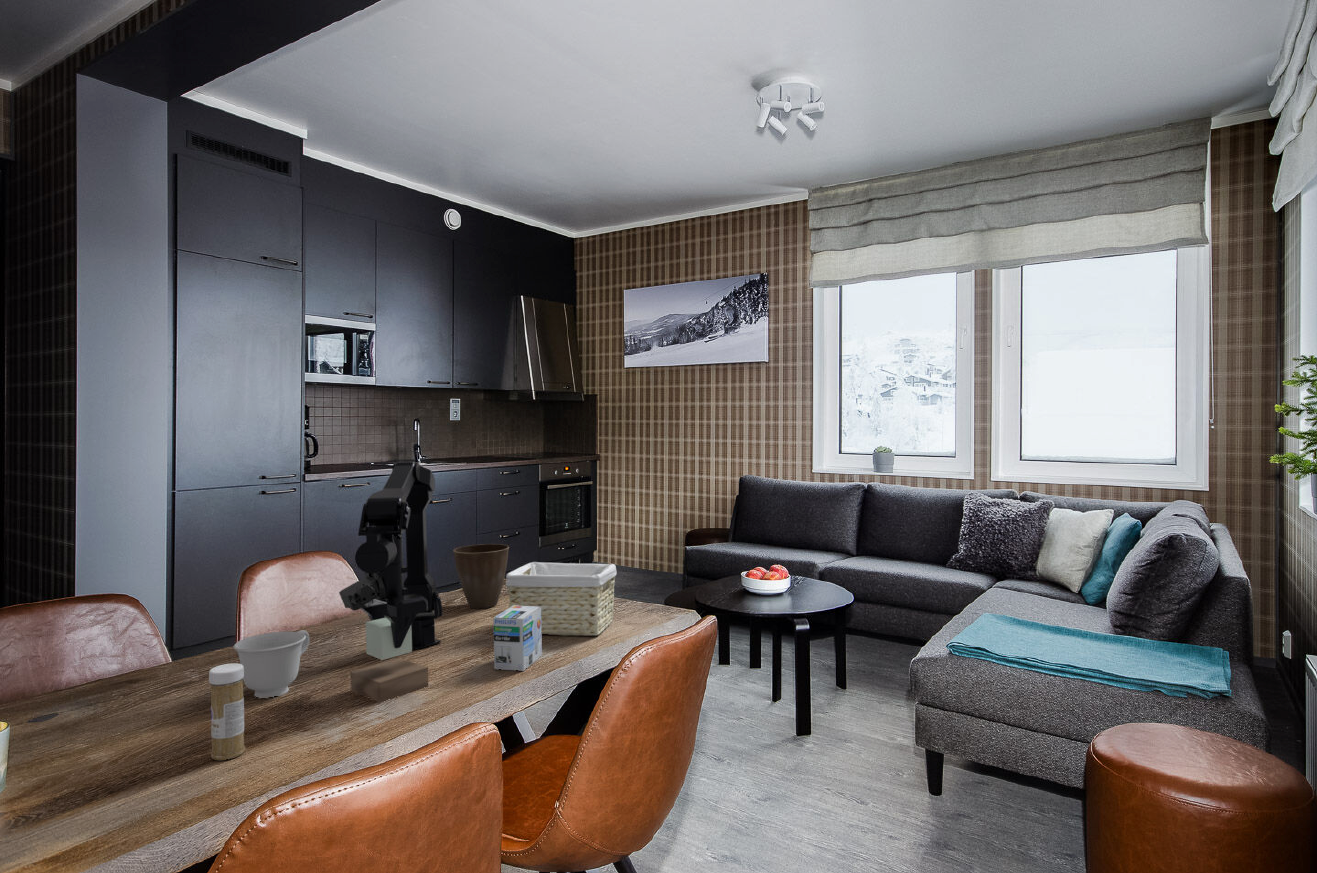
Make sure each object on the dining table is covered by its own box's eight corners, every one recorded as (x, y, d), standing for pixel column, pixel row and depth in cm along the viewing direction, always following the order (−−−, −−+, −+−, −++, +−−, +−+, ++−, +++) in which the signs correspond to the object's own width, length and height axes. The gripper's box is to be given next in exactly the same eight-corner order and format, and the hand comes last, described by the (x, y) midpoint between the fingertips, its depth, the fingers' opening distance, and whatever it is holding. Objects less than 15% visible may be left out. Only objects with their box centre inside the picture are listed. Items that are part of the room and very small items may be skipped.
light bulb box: (524, 672, 146) (523, 618, 146) (492, 670, 147) (491, 617, 147) (543, 655, 157) (542, 605, 156) (513, 653, 158) (512, 604, 158)
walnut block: (350, 693, 137) (350, 672, 137) (398, 677, 145) (397, 658, 145) (380, 705, 131) (380, 682, 131) (428, 688, 139) (427, 667, 139)
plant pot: (445, 611, 195) (443, 552, 195) (468, 598, 210) (467, 543, 209) (497, 613, 192) (496, 553, 192) (517, 599, 207) (516, 543, 207)
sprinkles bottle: (206, 756, 110) (204, 668, 110) (239, 745, 114) (236, 660, 114) (217, 764, 107) (215, 674, 107) (250, 753, 111) (248, 666, 111)
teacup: (332, 680, 143) (331, 629, 143) (269, 708, 129) (268, 652, 129) (285, 674, 147) (284, 625, 147) (219, 701, 133) (217, 647, 133)
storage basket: (504, 635, 172) (502, 573, 172) (530, 617, 188) (529, 560, 188) (600, 640, 167) (599, 576, 167) (619, 621, 183) (618, 562, 183)
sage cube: (366, 653, 138) (365, 622, 137) (395, 646, 142) (395, 615, 142) (382, 660, 134) (381, 627, 133) (411, 652, 138) (411, 620, 138)
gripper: (322, 563, 138) (324, 645, 138) (370, 576, 125) (372, 666, 126) (378, 555, 146) (380, 632, 146) (428, 566, 134) (430, 650, 134)
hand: (389, 644), depth 138 cm, fingers closed on sage cube, 6 cm apart
